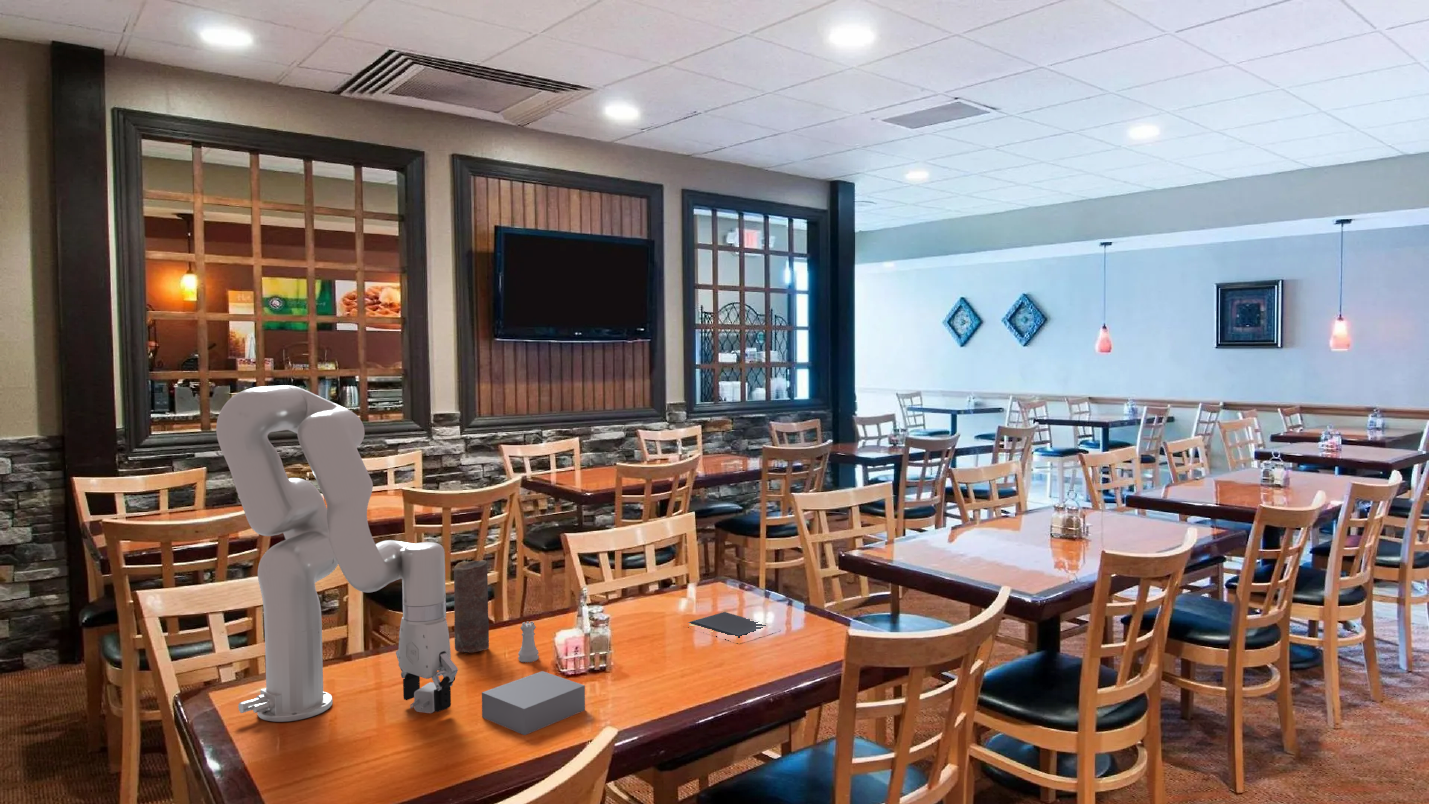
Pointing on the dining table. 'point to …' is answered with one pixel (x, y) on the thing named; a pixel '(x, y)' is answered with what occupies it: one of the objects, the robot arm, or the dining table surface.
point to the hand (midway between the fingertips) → (427, 703)
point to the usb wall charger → (424, 698)
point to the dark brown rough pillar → (471, 606)
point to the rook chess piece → (528, 643)
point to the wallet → (727, 624)
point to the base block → (533, 702)
